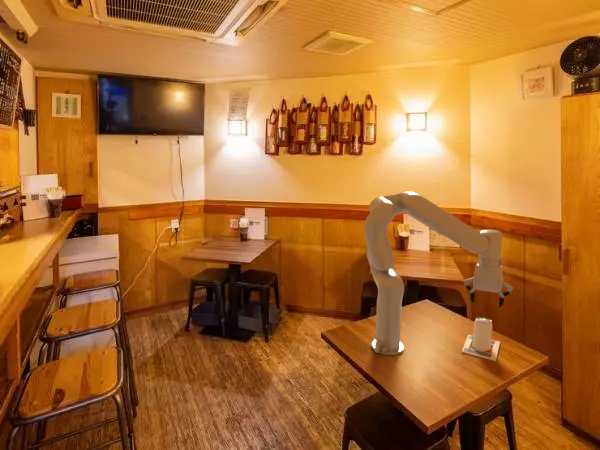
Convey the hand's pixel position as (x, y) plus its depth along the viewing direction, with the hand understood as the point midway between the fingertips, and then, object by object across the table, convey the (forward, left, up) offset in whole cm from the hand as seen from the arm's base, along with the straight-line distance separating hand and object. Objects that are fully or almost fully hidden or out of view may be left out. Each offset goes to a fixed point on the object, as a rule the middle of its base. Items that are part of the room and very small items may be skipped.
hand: (486, 304), depth 149 cm
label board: (0, 0, -19) cm, 19 cm away
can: (0, 0, -19) cm, 19 cm away
